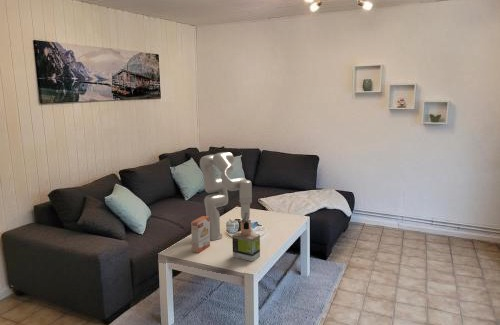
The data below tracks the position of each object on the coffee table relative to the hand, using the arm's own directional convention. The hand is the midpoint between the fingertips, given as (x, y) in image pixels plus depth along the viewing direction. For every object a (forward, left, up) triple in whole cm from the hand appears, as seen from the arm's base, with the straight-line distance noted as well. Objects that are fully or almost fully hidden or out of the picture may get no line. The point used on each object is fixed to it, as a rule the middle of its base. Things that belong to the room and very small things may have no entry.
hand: (245, 226), depth 243 cm
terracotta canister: (0, 0, -6) cm, 6 cm away
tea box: (0, 0, -20) cm, 20 cm away
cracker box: (-29, +15, -20) cm, 38 cm away
